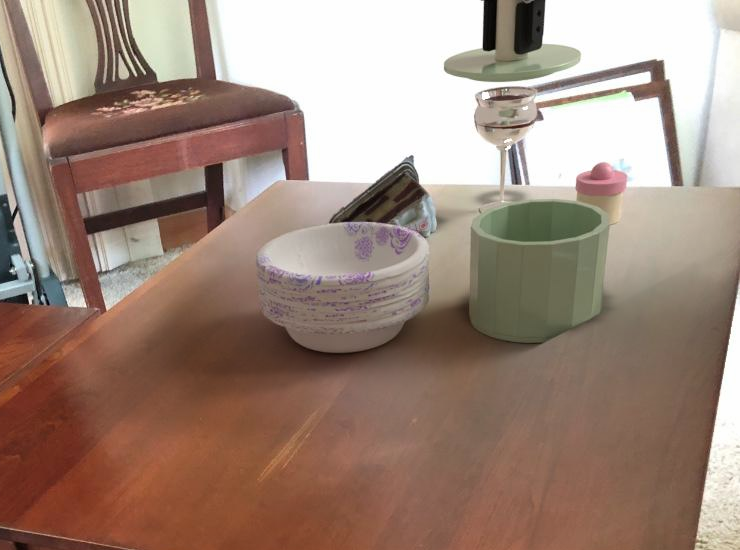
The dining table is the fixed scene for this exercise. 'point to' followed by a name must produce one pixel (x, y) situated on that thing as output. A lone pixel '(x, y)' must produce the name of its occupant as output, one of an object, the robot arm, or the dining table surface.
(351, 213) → the chocolate cake
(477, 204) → the dining table surface
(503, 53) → the lid
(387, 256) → the paper bowls
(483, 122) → the wineglass
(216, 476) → the dining table surface
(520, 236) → the pot
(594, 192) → the cupcake
